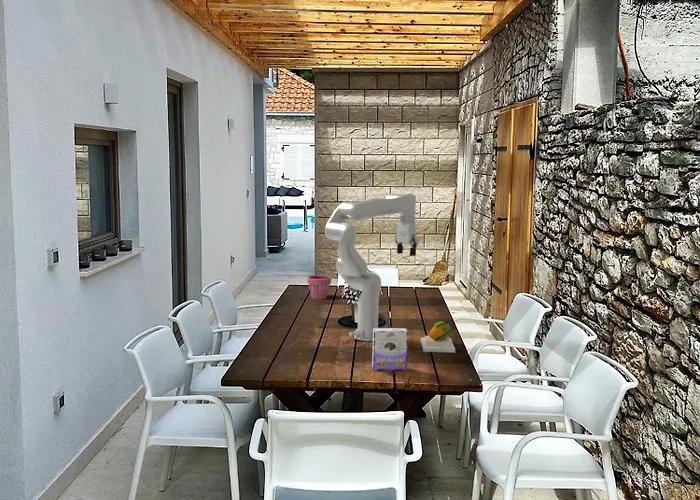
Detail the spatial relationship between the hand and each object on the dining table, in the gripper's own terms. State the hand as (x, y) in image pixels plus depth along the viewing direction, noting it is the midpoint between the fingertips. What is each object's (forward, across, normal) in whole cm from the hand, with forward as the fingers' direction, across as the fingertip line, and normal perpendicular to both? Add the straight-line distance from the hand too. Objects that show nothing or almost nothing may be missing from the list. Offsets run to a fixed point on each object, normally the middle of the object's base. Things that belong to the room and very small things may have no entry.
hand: (406, 254), depth 368 cm
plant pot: (+38, -95, +13) cm, 103 cm away
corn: (+35, +32, -6) cm, 47 cm away
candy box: (+39, +48, -48) cm, 78 cm away
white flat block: (+38, +31, -6) cm, 50 cm away
